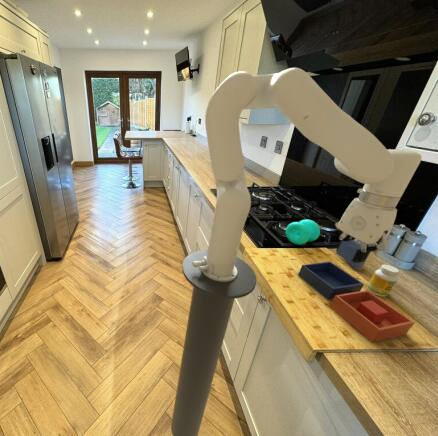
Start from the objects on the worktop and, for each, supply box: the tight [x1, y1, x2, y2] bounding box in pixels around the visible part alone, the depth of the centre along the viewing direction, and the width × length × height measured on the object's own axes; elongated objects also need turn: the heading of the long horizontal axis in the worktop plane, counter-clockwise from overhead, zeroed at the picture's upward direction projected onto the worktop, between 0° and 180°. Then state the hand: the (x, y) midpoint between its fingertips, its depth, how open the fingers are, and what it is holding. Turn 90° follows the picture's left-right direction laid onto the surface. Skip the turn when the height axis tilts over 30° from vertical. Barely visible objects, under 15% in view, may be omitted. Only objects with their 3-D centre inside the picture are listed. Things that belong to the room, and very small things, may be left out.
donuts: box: [285, 219, 321, 246], centre depth 104 cm, size 10×10×10 cm
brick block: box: [356, 300, 388, 324], centre depth 66 cm, size 4×4×4 cm
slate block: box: [335, 239, 362, 262], centre depth 68 cm, size 4×4×4 cm
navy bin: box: [298, 260, 365, 301], centre depth 80 cm, size 12×12×4 cm
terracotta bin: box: [329, 289, 416, 343], centre depth 67 cm, size 12×12×4 cm
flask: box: [344, 238, 371, 272], centre depth 90 cm, size 9×3×11 cm, turn 164°
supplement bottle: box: [366, 264, 400, 297], centre depth 76 cm, size 5×5×10 cm
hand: (349, 256), depth 69 cm, fingers closed on slate block, 4 cm apart
